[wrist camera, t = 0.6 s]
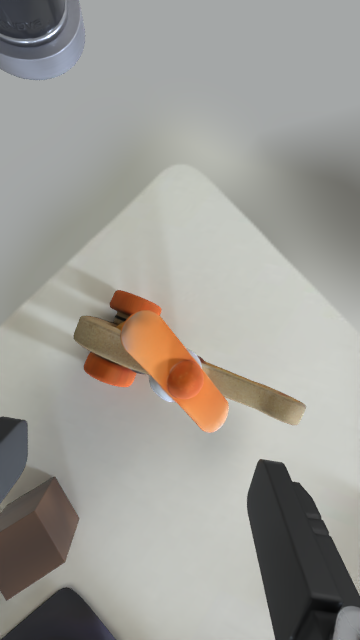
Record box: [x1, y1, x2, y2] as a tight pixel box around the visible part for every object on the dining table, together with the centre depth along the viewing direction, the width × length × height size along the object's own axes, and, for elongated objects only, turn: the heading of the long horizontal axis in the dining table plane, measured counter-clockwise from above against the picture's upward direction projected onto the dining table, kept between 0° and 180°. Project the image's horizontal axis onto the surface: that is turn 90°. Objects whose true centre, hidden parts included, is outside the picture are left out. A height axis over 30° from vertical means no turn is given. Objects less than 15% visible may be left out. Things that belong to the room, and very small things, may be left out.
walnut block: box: [0, 477, 79, 601], centre depth 23 cm, size 5×5×5 cm
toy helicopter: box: [74, 290, 306, 433], centre depth 22 cm, size 8×21×14 cm, turn 68°
